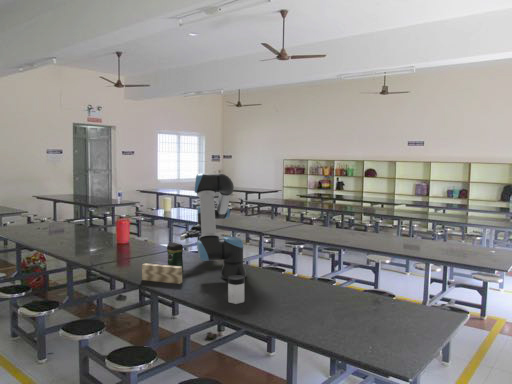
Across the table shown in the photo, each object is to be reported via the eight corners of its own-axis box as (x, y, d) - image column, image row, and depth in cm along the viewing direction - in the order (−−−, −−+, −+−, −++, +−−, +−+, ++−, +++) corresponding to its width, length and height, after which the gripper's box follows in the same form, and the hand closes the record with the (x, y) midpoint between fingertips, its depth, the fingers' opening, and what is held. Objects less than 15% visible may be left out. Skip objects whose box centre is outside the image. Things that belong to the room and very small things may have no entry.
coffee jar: (185, 273, 248) (185, 243, 246) (174, 276, 242) (174, 245, 240) (176, 270, 255) (175, 240, 253) (165, 273, 249) (164, 243, 247)
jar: (224, 301, 201) (224, 277, 200) (233, 296, 208) (233, 273, 207) (239, 305, 196) (239, 280, 195) (248, 299, 203) (248, 276, 202)
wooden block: (182, 282, 231) (182, 266, 230) (179, 283, 228) (179, 268, 227) (145, 278, 238) (144, 263, 237) (142, 279, 235) (141, 264, 234)
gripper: (206, 236, 276) (190, 244, 253) (188, 235, 279) (172, 243, 257) (206, 225, 275) (190, 232, 252) (188, 224, 279) (171, 231, 256)
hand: (181, 238), depth 255 cm, fingers closed
